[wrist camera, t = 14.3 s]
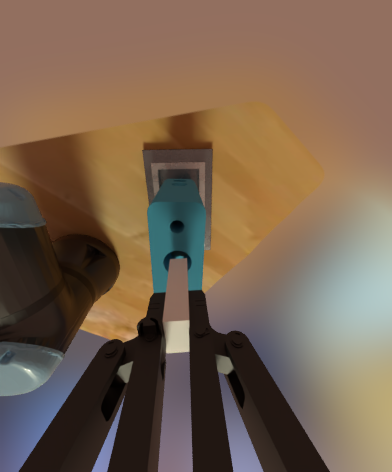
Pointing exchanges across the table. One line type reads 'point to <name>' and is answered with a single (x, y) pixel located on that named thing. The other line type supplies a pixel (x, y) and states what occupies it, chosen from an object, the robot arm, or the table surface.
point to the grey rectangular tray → (181, 175)
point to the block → (177, 231)
